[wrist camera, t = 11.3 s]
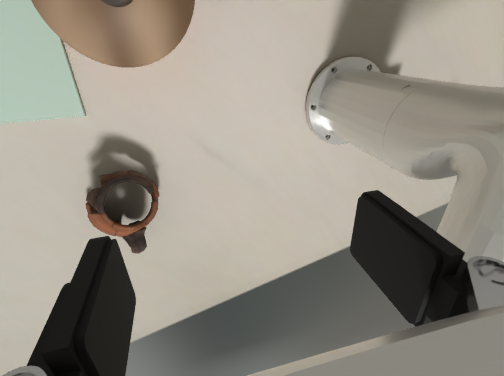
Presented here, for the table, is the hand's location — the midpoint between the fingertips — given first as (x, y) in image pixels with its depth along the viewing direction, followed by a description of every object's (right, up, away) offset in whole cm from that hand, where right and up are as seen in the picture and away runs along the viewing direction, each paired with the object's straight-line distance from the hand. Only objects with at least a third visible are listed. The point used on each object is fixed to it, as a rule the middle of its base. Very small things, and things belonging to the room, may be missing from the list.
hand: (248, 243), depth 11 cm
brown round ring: (-18, 0, +30) cm, 35 cm away
